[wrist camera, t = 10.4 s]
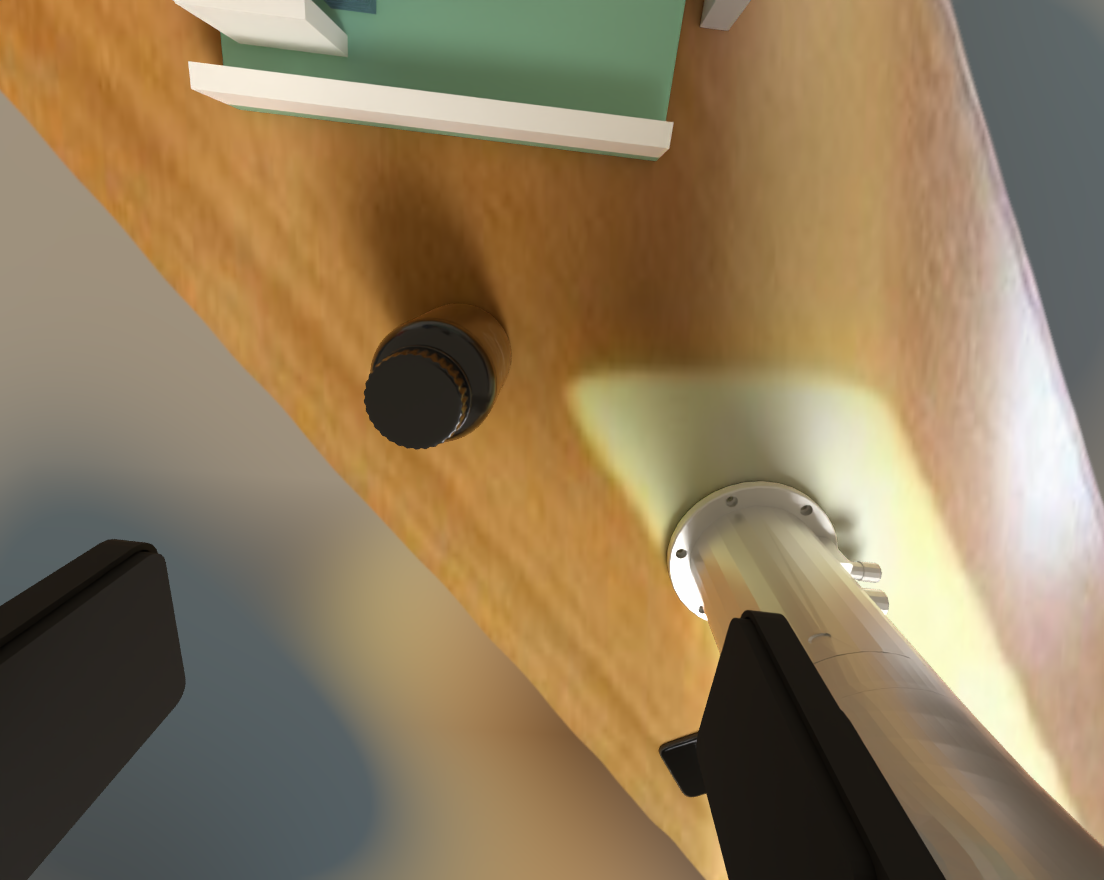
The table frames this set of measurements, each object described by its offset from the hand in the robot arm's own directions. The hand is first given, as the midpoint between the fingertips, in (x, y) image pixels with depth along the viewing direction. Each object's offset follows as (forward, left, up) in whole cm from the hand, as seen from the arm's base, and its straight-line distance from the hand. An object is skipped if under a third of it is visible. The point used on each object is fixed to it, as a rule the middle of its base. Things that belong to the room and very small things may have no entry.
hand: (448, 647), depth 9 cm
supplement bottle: (+5, +1, -28) cm, 29 cm away
